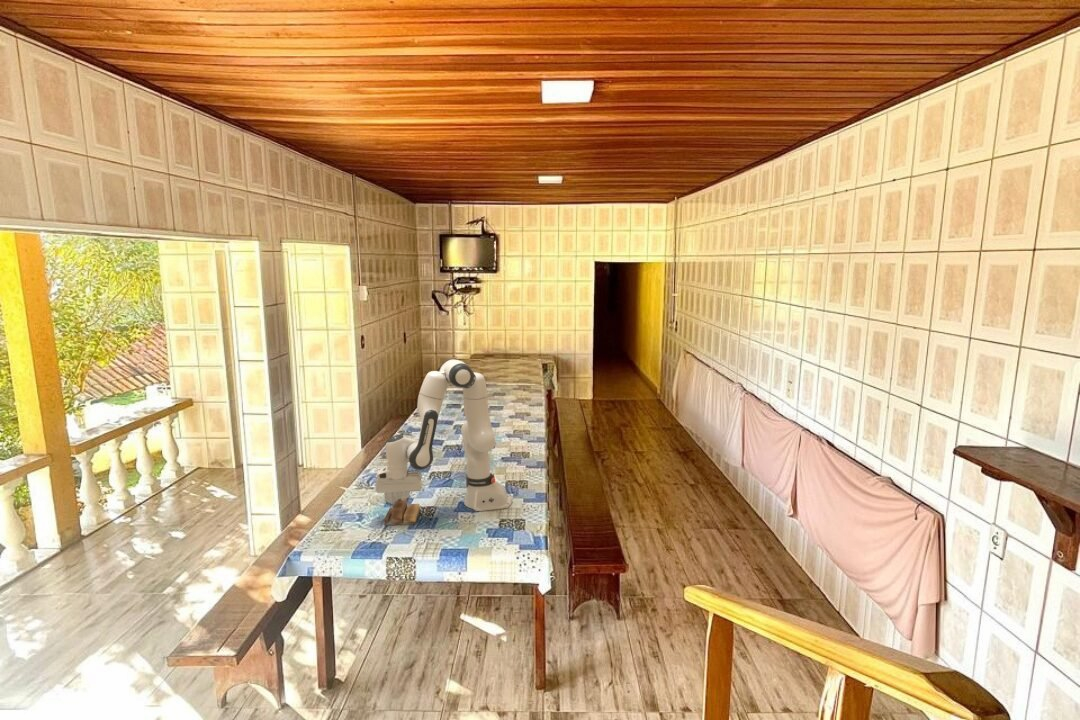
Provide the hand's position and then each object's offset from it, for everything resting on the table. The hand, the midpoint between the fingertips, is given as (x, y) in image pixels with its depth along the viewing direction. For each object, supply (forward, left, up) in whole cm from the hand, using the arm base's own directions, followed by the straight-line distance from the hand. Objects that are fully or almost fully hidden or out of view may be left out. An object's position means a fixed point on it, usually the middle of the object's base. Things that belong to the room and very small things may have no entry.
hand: (399, 500), depth 249 cm
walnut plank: (0, 0, -8) cm, 8 cm away
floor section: (-1, 0, -9) cm, 9 cm away
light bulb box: (+5, -20, -9) cm, 22 cm away
